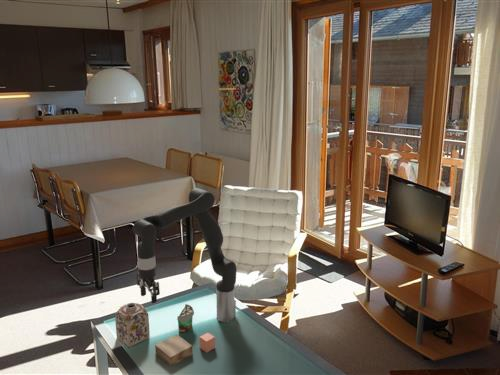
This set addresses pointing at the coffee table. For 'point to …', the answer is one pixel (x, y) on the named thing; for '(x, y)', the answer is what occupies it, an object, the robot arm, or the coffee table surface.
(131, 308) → the decorative jar
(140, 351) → the coffee table surface
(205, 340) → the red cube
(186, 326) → the food container
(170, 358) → the walnut block
